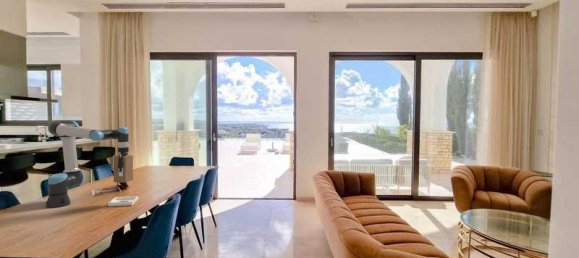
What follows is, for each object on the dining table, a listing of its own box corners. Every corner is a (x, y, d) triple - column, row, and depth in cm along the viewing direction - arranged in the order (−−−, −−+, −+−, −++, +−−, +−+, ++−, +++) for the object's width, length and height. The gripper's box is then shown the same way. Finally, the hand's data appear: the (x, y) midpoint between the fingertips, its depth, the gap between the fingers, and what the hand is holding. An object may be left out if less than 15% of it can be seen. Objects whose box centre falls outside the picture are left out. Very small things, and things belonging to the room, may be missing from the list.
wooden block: (133, 179, 246) (133, 155, 245) (125, 182, 236) (125, 156, 235) (121, 179, 247) (121, 154, 246) (113, 182, 237) (113, 156, 236)
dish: (107, 206, 232) (107, 202, 232) (115, 200, 249) (115, 196, 248) (132, 205, 236) (132, 202, 235) (138, 199, 252) (138, 196, 252)
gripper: (123, 148, 229) (123, 177, 230) (132, 145, 252) (133, 171, 253) (112, 148, 228) (112, 177, 229) (123, 145, 251) (123, 171, 252)
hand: (123, 174), depth 241 cm, fingers closed on wooden block, 11 cm apart
